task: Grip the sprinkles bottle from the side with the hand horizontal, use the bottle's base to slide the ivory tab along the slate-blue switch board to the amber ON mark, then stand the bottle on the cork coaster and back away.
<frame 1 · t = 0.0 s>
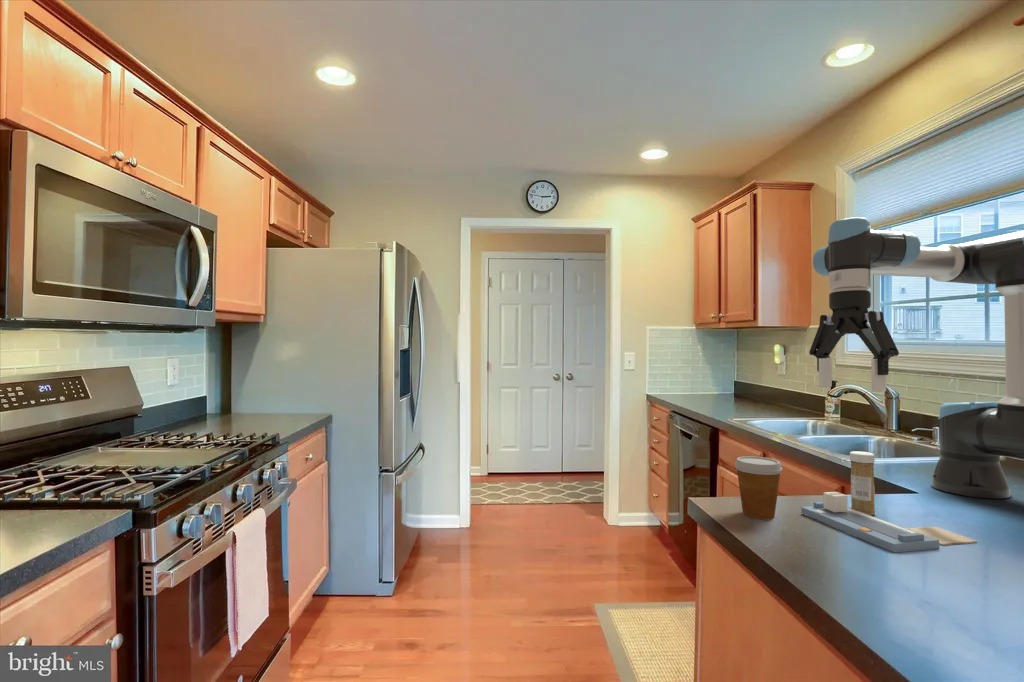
hand: (850, 389, 110), 28 cm above the counter, tool pointing down, fingers open, 13 cm apart
switch board: (863, 529, 103), on the counter
ivory tab: (835, 501, 110), point 4 cm above the counter, slide at 0.0 cm
disposable coffee cup: (758, 515, 112), on the counter
cork coaster: (938, 536, 99), on the counter
sprinkles bottle: (862, 513, 113), on the counter
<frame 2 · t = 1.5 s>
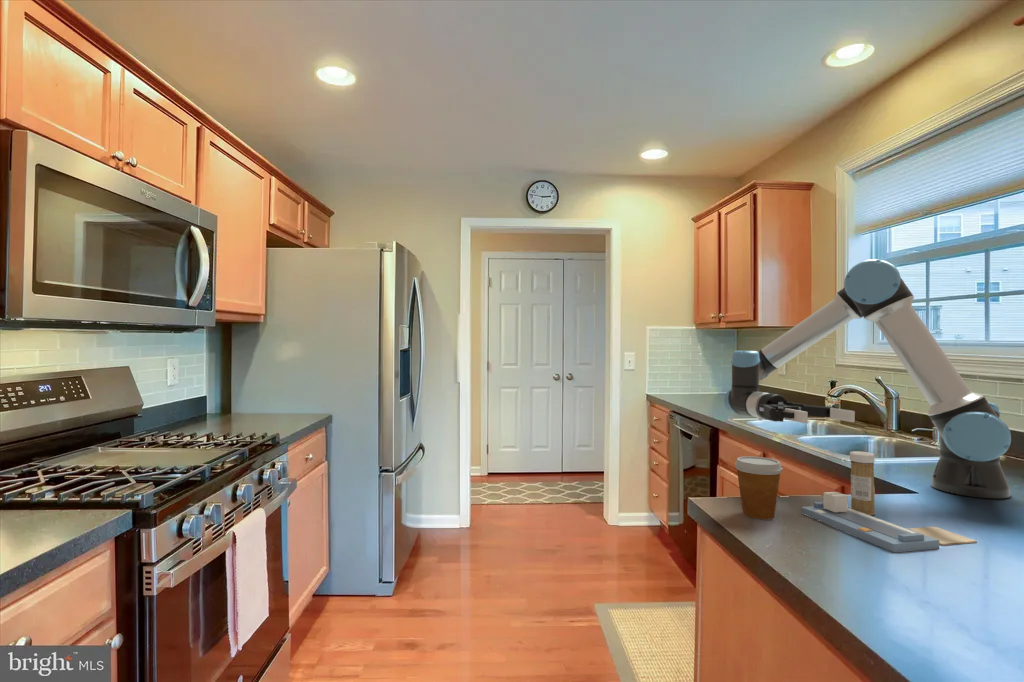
hand: (830, 417, 123), 20 cm above the counter, tool horizontal, fingers open, 13 cm apart
nothing on the counter moved.
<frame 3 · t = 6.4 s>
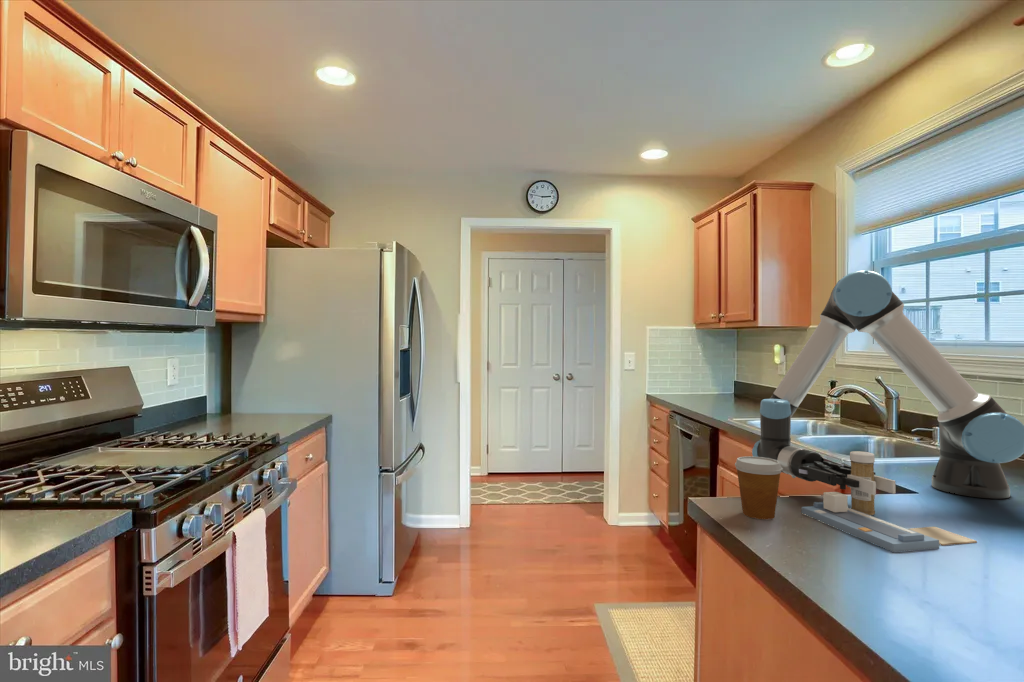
hand: (884, 487, 108), 7 cm above the counter, tool horizontal, fingers closed on sprinkles bottle, 4 cm apart
sprinkles bottle: (862, 513, 113), on the counter, touching gripper
everything else where it was.
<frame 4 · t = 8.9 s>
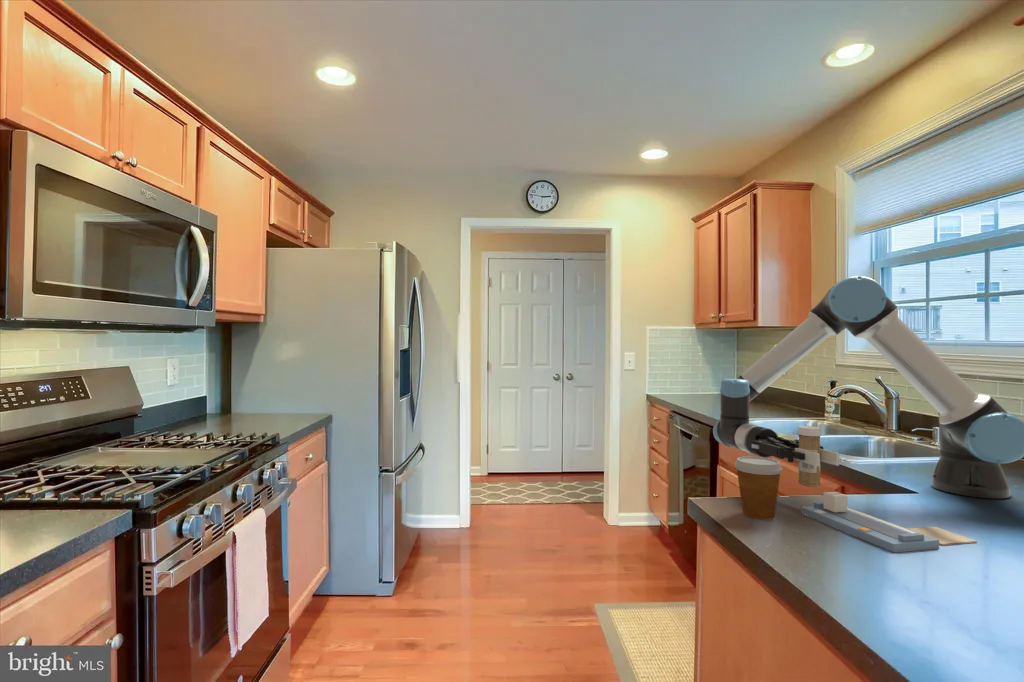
hand: (827, 459, 112), 12 cm above the counter, tool horizontal, fingers closed on sprinkles bottle, 4 cm apart
sprinkles bottle: (808, 485, 117), point 5 cm above the counter, touching gripper
everything else where it was.
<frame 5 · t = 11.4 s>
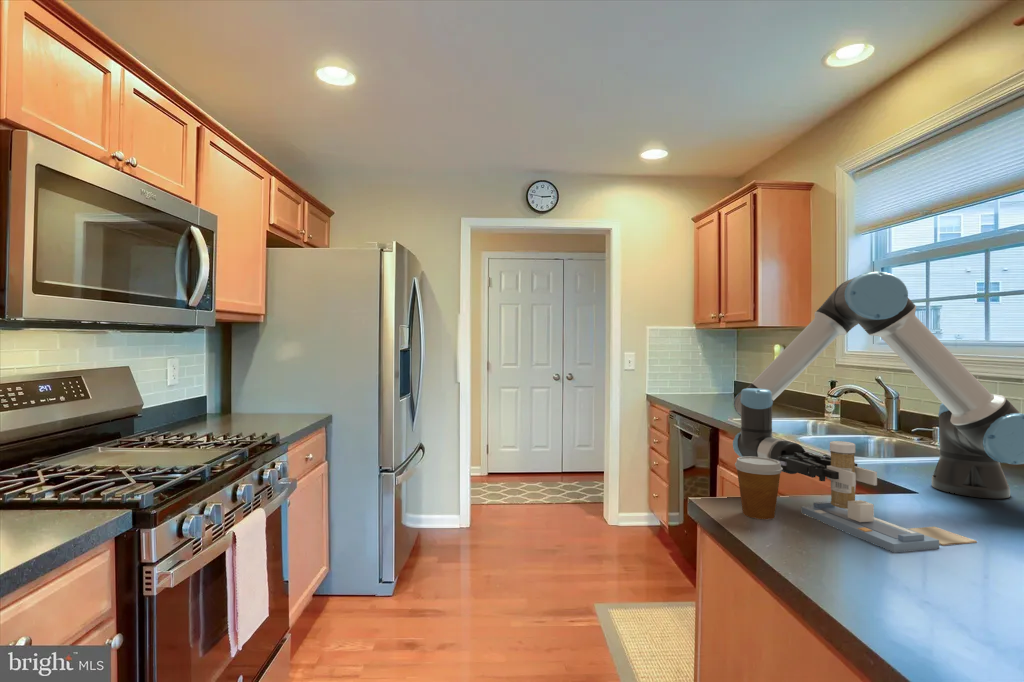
hand: (864, 479, 102), 10 cm above the counter, tool horizontal, fingers closed on sprinkles bottle, 4 cm apart
ivory tab: (860, 510, 104), point 4 cm above the counter, slide at 6.3 cm, touching sprinkles bottle
sprinkles bottle: (842, 507, 107), point 3 cm above the counter, touching gripper, ivory tab
everything else where it was.
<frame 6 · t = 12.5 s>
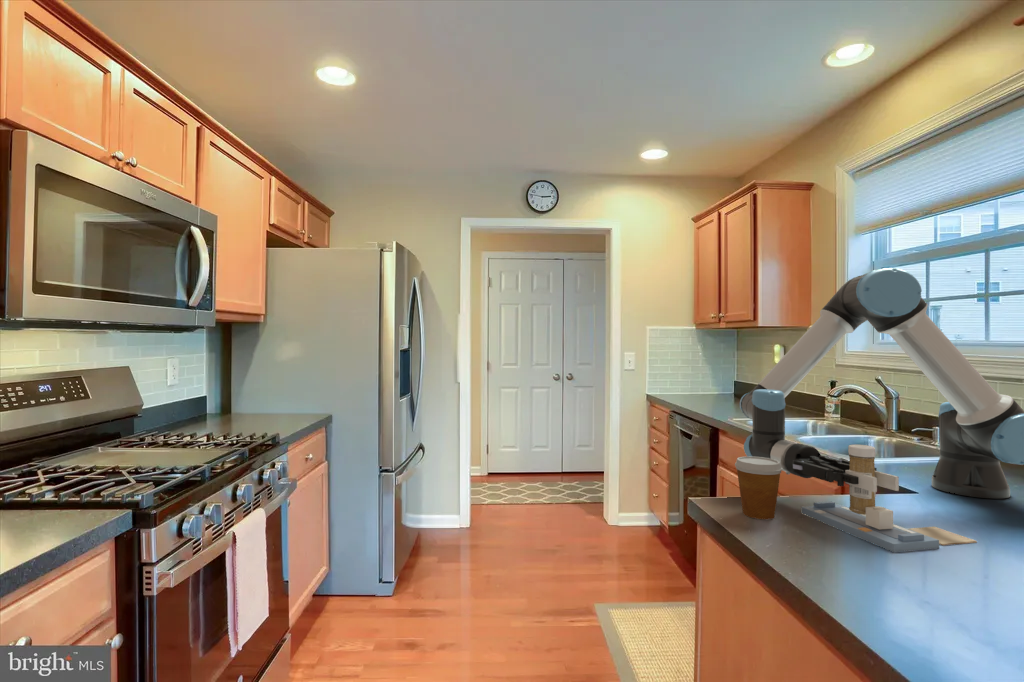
hand: (886, 484, 98), 10 cm above the counter, tool horizontal, fingers closed on sprinkles bottle, 4 cm apart
ivory tab: (879, 517, 100), point 4 cm above the counter, slide at 10.5 cm
sprinkles bottle: (862, 513, 103), point 3 cm above the counter, touching gripper
everything else where it was.
when the fingers open (8 cm above the counter, at t = 16.8 s): sprinkles bottle stays where it is, resting on cork coaster.
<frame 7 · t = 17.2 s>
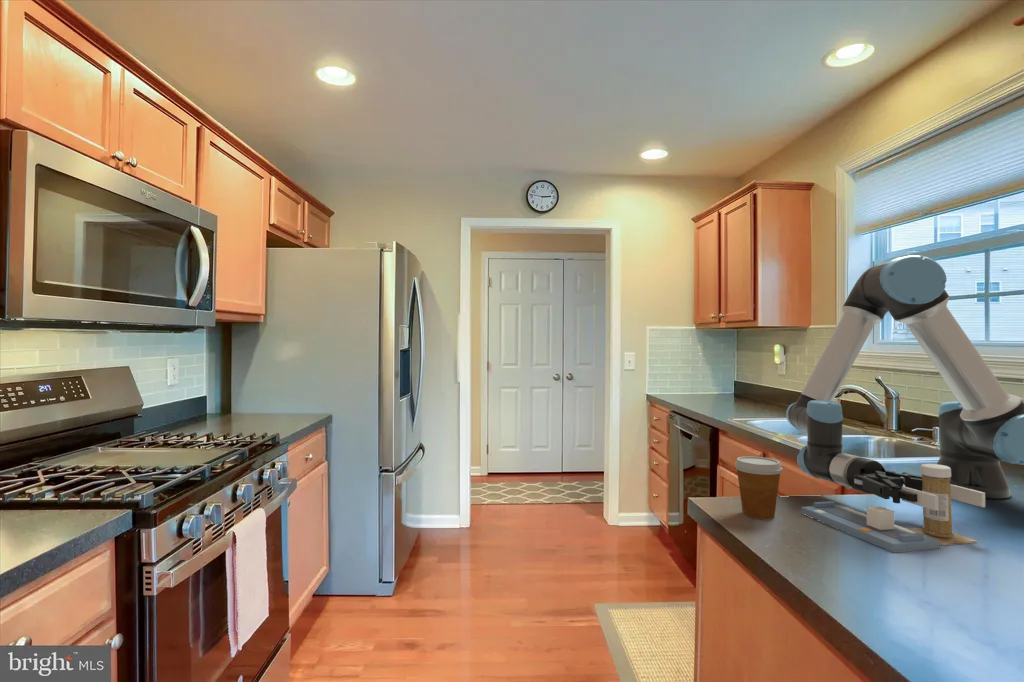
hand: (960, 501, 95), 8 cm above the counter, tool horizontal, fingers open, 10 cm apart
sprinkles bottle: (937, 535, 99), resting on cork coaster
everything else where it was.
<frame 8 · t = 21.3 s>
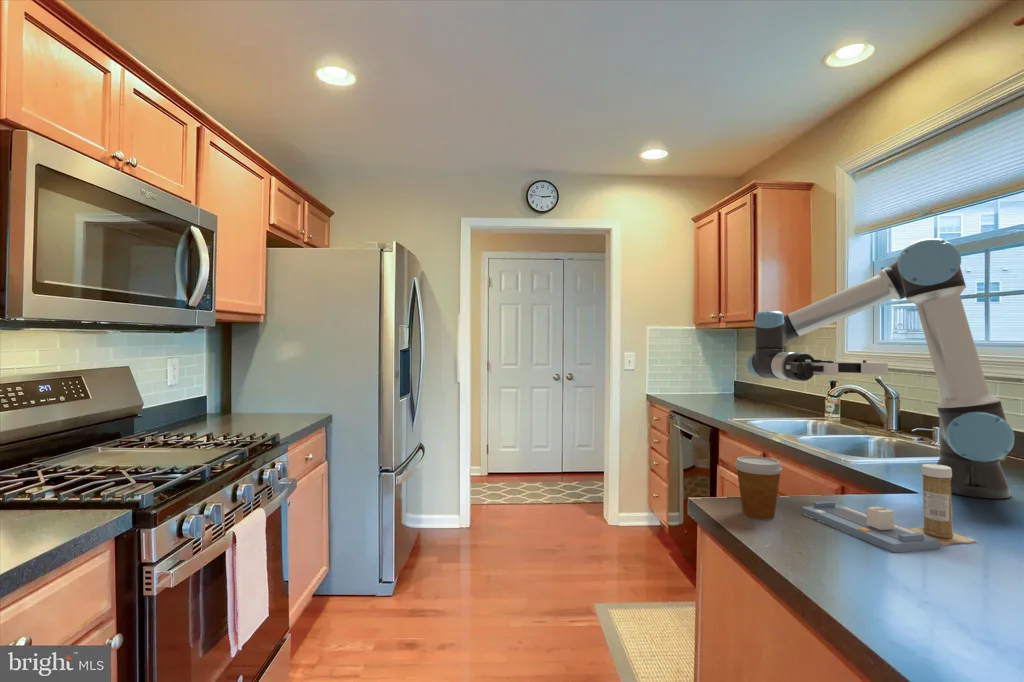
hand: (862, 369, 117), 32 cm above the counter, tool horizontal, fingers open, 13 cm apart
nothing on the counter moved.
at the end: ivory tab slide at 10.8 cm; sprinkles bottle 0.1 cm from the cork coaster (horizontally); sprinkles bottle tilted 0° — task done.
